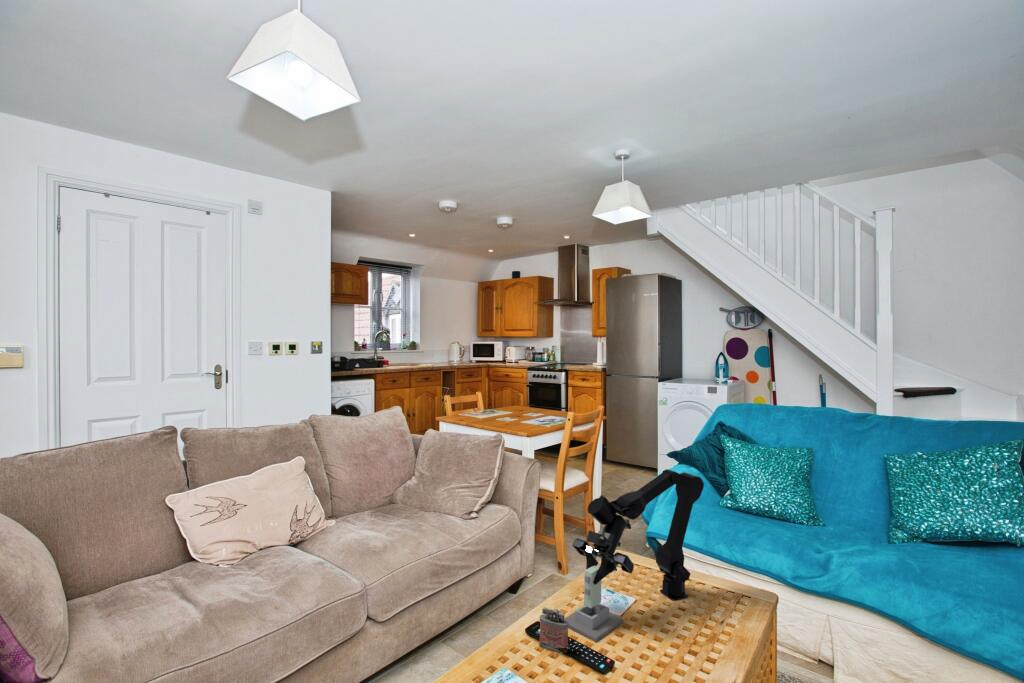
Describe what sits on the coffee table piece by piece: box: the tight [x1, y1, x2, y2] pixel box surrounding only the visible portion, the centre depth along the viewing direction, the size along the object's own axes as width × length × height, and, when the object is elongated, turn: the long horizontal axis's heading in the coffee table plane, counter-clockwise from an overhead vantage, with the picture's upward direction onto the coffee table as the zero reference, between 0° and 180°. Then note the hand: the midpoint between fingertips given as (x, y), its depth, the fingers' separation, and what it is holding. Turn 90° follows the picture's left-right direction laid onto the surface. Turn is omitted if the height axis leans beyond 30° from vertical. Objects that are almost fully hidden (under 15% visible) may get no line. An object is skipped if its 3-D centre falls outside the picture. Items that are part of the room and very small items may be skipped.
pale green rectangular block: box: [583, 565, 602, 608], centre depth 143 cm, size 2×6×10 cm, turn 136°
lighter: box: [538, 607, 569, 654], centre depth 131 cm, size 8×3×10 cm, turn 65°
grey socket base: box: [564, 602, 624, 643], centre depth 143 cm, size 12×14×4 cm
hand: (590, 582), depth 142 cm, fingers closed on pale green rectangular block, 2 cm apart
